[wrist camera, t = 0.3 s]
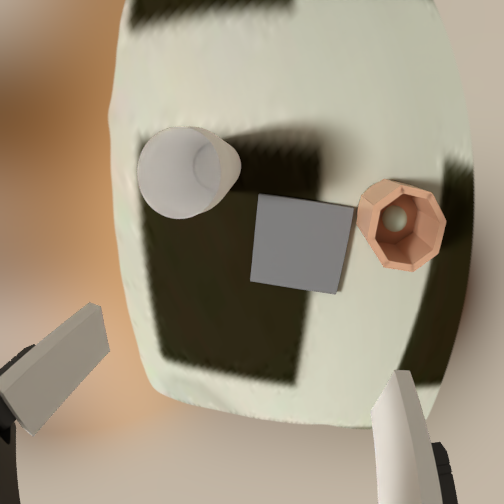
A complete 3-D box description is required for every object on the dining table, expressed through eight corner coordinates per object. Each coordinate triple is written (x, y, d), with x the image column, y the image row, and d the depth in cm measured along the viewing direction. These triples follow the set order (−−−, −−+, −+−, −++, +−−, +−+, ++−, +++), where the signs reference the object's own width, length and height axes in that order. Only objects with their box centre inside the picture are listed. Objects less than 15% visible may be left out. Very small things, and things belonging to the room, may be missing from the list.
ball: (381, 201, 32) (388, 205, 29) (404, 205, 31) (413, 210, 28) (377, 225, 33) (383, 232, 30) (399, 229, 32) (407, 237, 29)
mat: (259, 193, 35) (258, 194, 35) (352, 207, 34) (353, 208, 33) (251, 278, 40) (250, 280, 39) (335, 291, 38) (335, 294, 37)
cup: (265, 171, 34) (243, 179, 23) (212, 213, 38) (173, 239, 26) (221, 118, 33) (181, 104, 22) (173, 162, 36) (120, 169, 25)
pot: (362, 174, 32) (377, 179, 25) (424, 187, 31) (451, 197, 23) (351, 240, 35) (361, 263, 28) (410, 251, 34) (431, 274, 26)
